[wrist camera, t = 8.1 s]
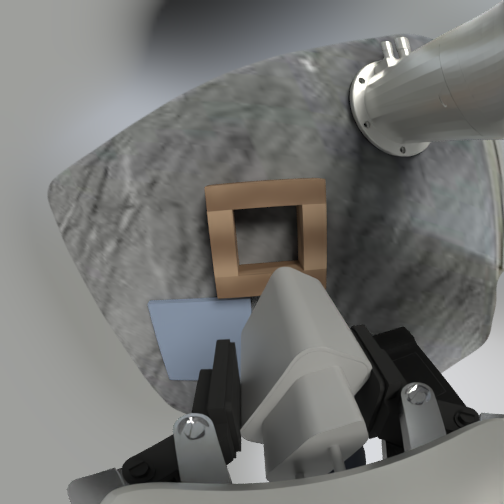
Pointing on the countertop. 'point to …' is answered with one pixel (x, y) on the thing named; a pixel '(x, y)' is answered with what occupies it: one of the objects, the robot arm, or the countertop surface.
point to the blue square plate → (197, 331)
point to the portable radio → (415, 363)
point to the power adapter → (301, 379)
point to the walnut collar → (255, 196)
